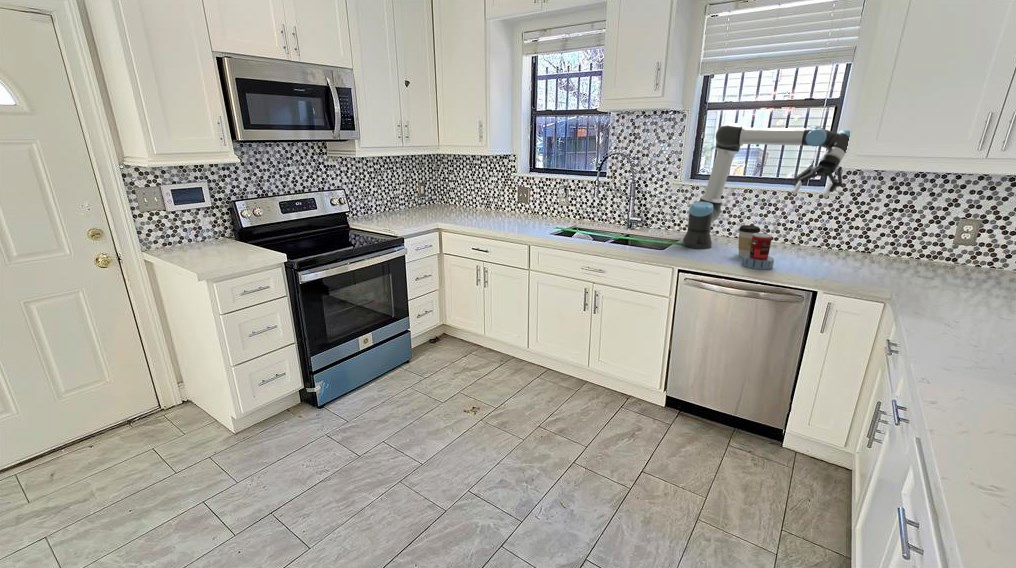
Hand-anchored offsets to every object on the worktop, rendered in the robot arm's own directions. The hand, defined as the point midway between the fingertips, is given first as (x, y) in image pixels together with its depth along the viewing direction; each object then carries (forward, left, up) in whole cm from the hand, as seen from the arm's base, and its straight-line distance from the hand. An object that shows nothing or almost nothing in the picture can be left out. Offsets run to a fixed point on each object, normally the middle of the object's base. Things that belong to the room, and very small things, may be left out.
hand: (809, 194), depth 215 cm
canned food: (-8, -20, -29) cm, 36 cm away
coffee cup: (-21, -8, -33) cm, 40 cm away
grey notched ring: (-8, -20, -33) cm, 39 cm away
